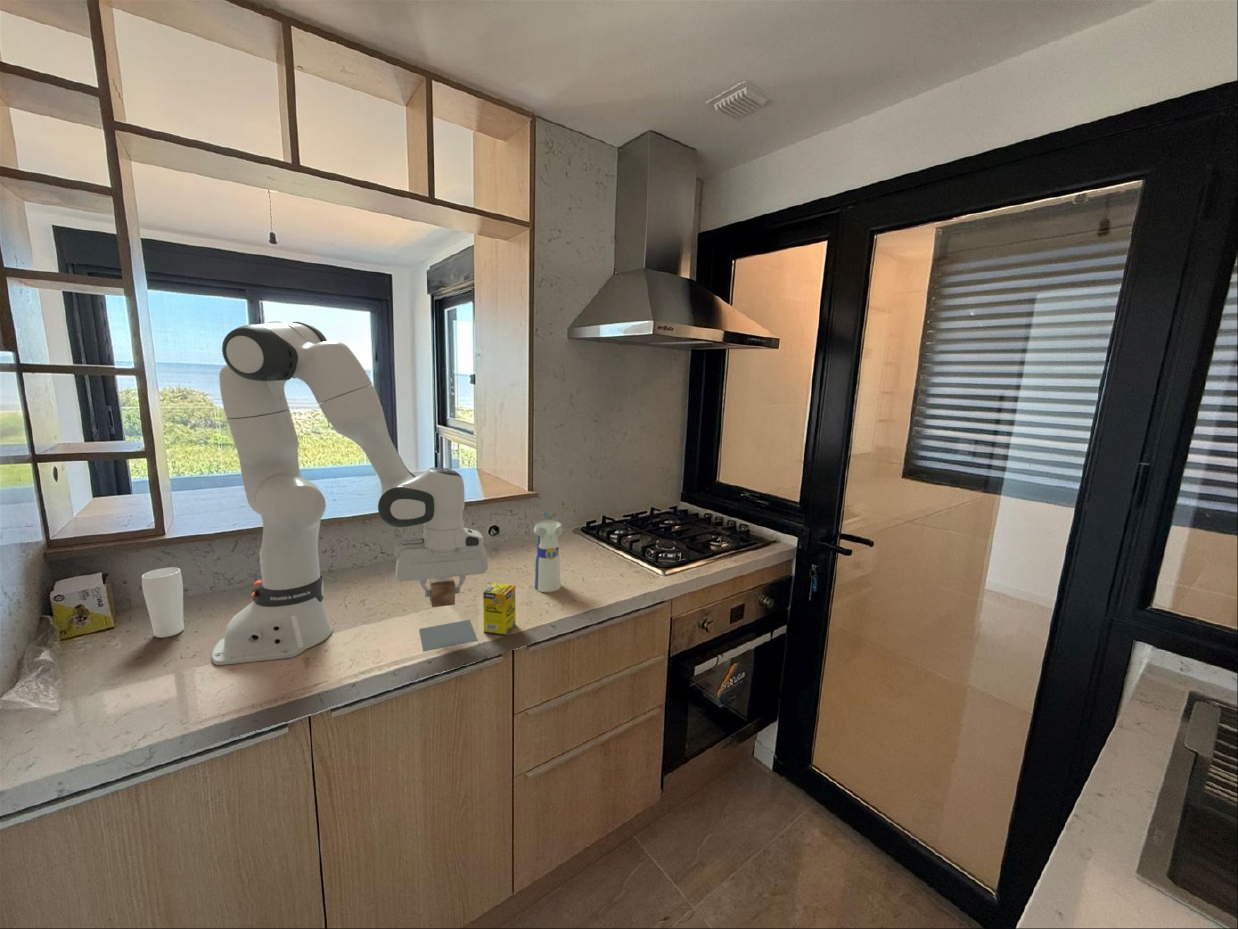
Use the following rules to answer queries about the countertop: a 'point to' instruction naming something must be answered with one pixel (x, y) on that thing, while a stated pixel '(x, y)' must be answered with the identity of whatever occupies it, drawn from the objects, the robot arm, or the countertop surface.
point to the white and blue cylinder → (547, 555)
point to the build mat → (447, 635)
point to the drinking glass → (164, 600)
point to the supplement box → (499, 609)
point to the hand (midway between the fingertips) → (442, 594)
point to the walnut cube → (442, 591)
